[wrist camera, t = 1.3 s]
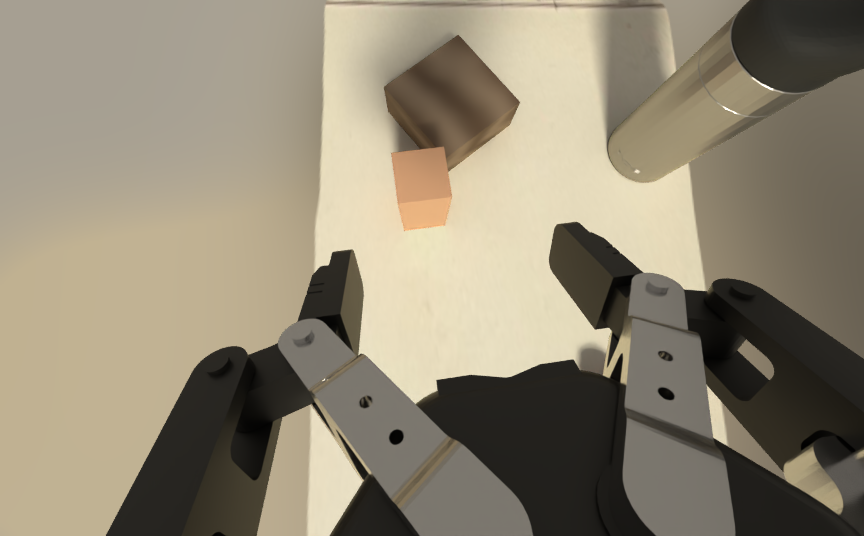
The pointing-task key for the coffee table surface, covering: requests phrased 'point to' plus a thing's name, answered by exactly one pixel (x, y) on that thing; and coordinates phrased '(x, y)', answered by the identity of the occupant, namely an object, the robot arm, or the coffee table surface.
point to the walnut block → (451, 102)
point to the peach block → (422, 187)
